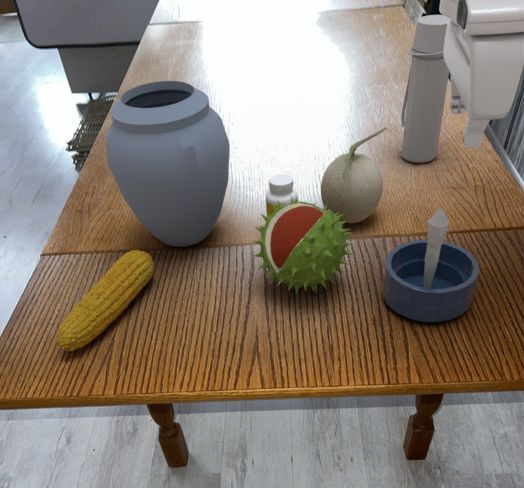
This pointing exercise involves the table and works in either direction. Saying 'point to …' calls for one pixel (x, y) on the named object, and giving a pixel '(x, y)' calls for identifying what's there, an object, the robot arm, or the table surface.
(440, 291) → the bowl
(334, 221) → the chestnut
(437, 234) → the pen
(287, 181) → the supplement bottle
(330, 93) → the table surface
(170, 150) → the vase
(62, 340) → the food
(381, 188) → the fruit
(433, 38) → the water bottle
